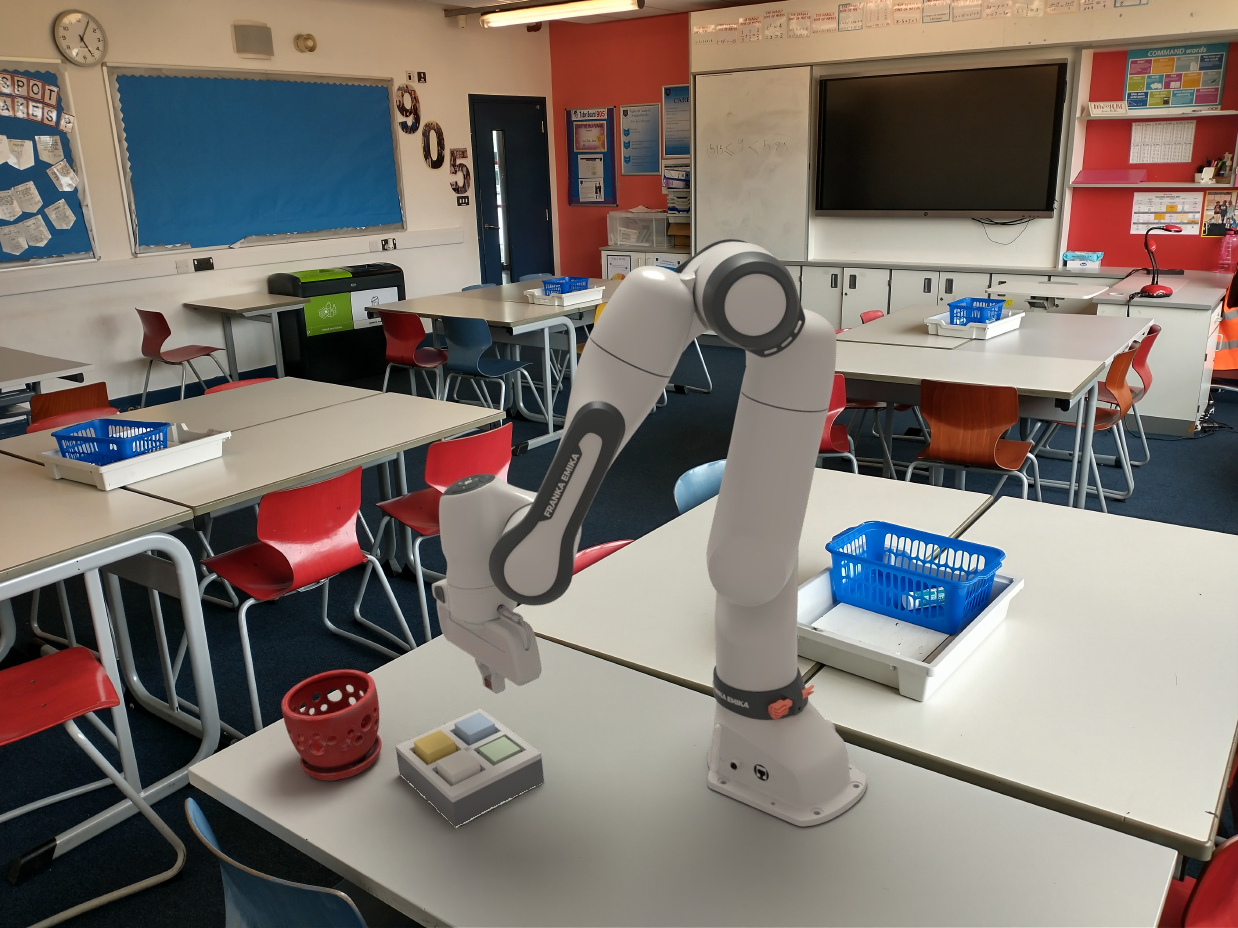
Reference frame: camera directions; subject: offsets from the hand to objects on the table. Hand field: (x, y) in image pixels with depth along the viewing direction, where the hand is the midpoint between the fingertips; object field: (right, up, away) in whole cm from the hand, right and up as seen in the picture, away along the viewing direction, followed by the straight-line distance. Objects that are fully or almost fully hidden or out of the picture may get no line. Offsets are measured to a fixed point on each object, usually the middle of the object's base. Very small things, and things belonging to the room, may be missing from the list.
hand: (494, 688), depth 129 cm
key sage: (0, -11, +3) cm, 12 cm away
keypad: (-4, -14, +5) cm, 15 cm away
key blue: (-4, -9, +8) cm, 13 cm away
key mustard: (-9, -11, +4) cm, 14 cm away
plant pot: (-24, -14, +10) cm, 29 cm away
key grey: (-5, -12, -1) cm, 13 cm away
